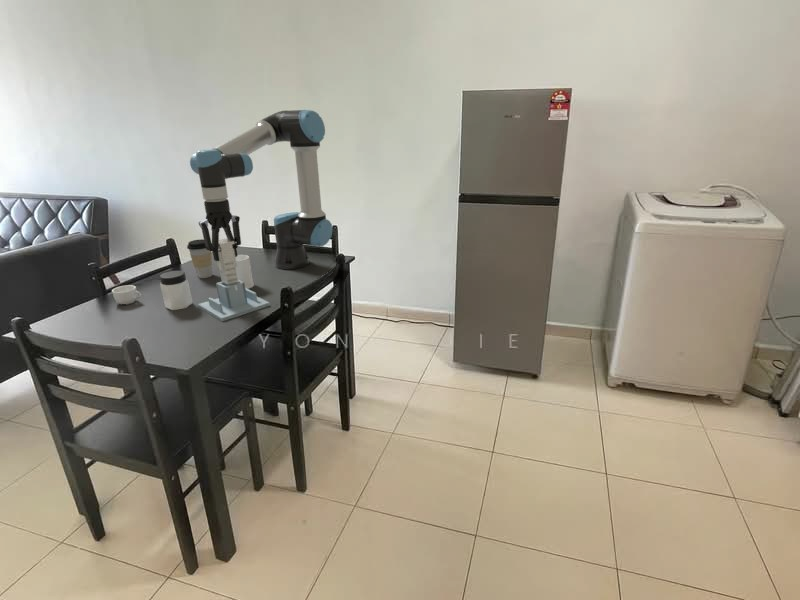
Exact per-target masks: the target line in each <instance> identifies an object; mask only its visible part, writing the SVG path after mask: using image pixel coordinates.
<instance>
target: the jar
mask: <svg viewBox="0 0 800 600" xmlns="http://www.w3.org/2000/svg"><path fill="white" fill-rule="evenodd" d="M159 279H160V283H159V287H160V290H161V293H162V298H163V299H162V300H163V302H164V306H165V307H164V308H166V309H169V310H171V311H178V310H183V309H187V308H188V307H189V306H191V305H192V304H193V299H192V294H191V293H192V292H191V290H190V289H191V288H190V285H189V280H188V279H187V277H186V272H185V271H183V270H171V271H166V272H164V273H161V274H160V275H159Z"/></svg>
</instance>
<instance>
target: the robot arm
mask: <svg viewBox="0 0 800 600" xmlns="http://www.w3.org/2000/svg"><path fill="white" fill-rule="evenodd" d="M325 134H326V128H325V123H324V120H323V118H322V116H320V114H319V113H318V112H316V111H314V110H311V109H309V110H308V109H300V110H299V109H297V110H281V111H280V110H279V111H277V112H274V113H272V114H270V115H268V116H267V117H264V118H263V119H261V120H258V121H257V122H256V124H255V126H253V127H251V128H249V129H248V130H246V131H244V132H242V133H241V134H238V135H236V136H235V137H232V138H231V139H228V140H227V141H225V142H223V143H221V144H219V145H217V146H216V147H215V146H214V147H213V148H211V149H199V150H197V151H196V152H195V153H193V154H192V155H191V157H190V159H189V166H190V168H191V170H192V171H193V172H194V174H197V175H199V176H198V177H199V182H200V186H201V192H202V199H203V200H204V202H203V204H204V209H205V210H204V211H205V214H206V215H205V219H204V220H202V221H198V225H199V227H200V229H201V232H202V237H203V239H204V242H205V246H206V250H208V251H211V253H212V255H213V260H214V261H215V262H216V264H217V269H218V270H219V271H220V270H224V267H223V261H222V255H221V251H218V244H217V243H219V240H220V239H219V237H220V229H223V231H224V234H225V236H226V239H228V240H233V241H234V244H232V247H233V253H234V259H235V265H236V267H237V264H236V258H235V257H236V256H237V255H238V252H237V251H238V250H237V249H238V247H239V246H241V244H242V239H241V231H240V224H239V223H240V219H241V218H240V216H238V215H232V213H231V211H230V210H231V207H230V202H229V200H228V197H229V195H228V190H227V189H228V188H227V181H226V180H228V179H232V178H241V177H243V178H244V177H245V176H249V175H251V173H252V171H253V170H254V166H253V165H254V164H253V160H252V158H251V156H250V154H252V153H254V152H256V151H258V150H260V149H261V148H263V147H265V146H266V145H268V146H271V145H274V144H276V143H279V142H281V143H283V142H289V145H290V149H292V150H293V151H294V154H295V155H294V156H295V166H296V175H297V176H296V177H297V183H298V185H297V187H298V195H299V205H300V212H298V211H296V212H287V213H282V214H278V215H275V216H274V219H273V228H274V235H275V242H276V252H275V258H274V266H275V268H277V269H281V270H295V269H302V268H304V267H306V266H308V265H309V264H310V259H309V256H308V254H307V252H306V249H305V246H312V247H324V246H325V245H327V244H328V243H329V241H330V239H331V238H332V234H333V224H332V223H331V221H330V220H329V219H327V217H326V212H325V211H324V210H322V200H321V199H322V198H321V189H320V176H319V175H320V174H319V164H318V150H319V149H320V148H321V144H320V143H321V142H322V141H323V140H324V138H325V137H324V136H325ZM230 222H231V225H230ZM209 225H210V226H211V234H210V229H209ZM231 227H232V230H231ZM304 245H305V246H304Z"/></svg>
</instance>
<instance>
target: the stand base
mask: <svg viewBox="0 0 800 600" xmlns="http://www.w3.org/2000/svg"><path fill="white" fill-rule="evenodd" d="M215 285H216V290H217V297H218V298H217V297H216V298H212V297H208V300H207V301H205V302H201V303H198V304H197V307H198V308H199V309H201V310H202V311H204V312H205V313H208V314H209V315H211V316H212V317H214V318H215V319H217V320H218V321H221V322H225V321H229V320H231V319H234V318H237V317H240V316H242V315H246V314H249V313H252V312H255V311H259V310H261V309H264V308H267V307H269V306H271V304H270V302H269V301H267V300H265V299H263V298H261V297H258V296H257V292H255V291H253V290H250V288H249V289H247V288H245V283H244V282H242V281H240V280H238V284H235V285H231V286H227V287H226V286H224V285H222V281H219V282H216V283H215Z"/></svg>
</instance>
